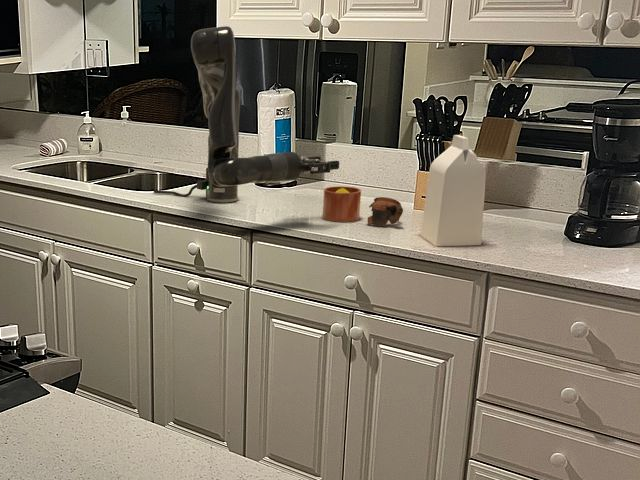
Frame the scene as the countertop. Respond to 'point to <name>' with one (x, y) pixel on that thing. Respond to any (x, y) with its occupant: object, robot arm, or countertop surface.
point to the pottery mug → (385, 211)
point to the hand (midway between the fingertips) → (329, 162)
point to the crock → (341, 204)
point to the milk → (454, 197)
